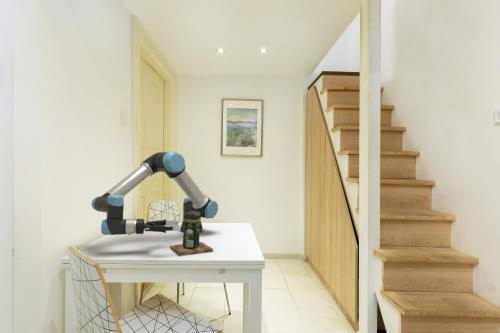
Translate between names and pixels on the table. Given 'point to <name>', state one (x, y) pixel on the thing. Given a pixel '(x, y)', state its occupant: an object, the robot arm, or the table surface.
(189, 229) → the coffee jar
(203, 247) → the walnut board
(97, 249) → the table surface
